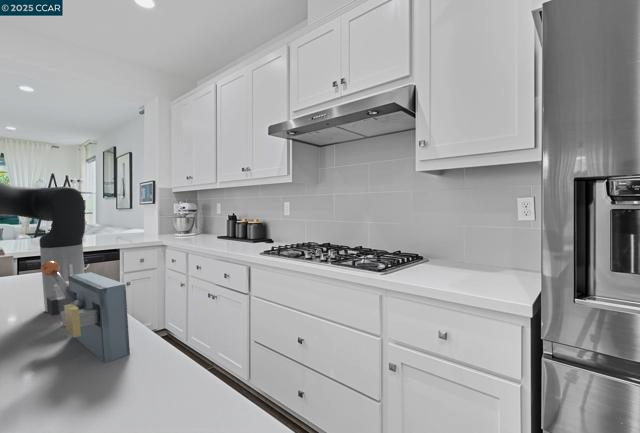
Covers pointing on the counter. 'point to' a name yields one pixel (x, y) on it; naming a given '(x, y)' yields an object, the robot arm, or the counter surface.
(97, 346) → the block
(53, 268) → the lever
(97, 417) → the counter surface
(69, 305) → the tan square block
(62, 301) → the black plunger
